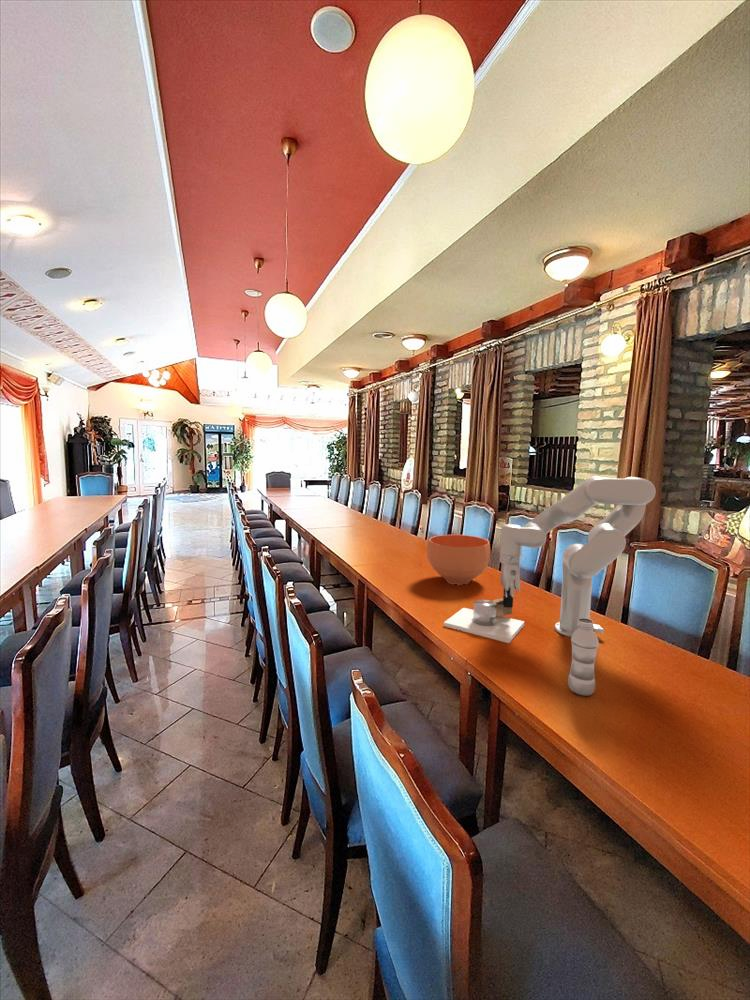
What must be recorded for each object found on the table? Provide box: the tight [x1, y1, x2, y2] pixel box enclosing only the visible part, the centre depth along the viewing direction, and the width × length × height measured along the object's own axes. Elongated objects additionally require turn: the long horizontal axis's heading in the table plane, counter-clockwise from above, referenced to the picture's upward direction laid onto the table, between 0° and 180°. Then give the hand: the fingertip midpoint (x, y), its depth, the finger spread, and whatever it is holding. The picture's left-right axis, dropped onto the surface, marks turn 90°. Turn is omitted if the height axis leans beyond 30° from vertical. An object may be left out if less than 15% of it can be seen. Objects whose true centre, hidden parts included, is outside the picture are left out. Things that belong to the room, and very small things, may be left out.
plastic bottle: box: [567, 618, 599, 696], centre depth 114 cm, size 6×7×20 cm
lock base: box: [443, 607, 525, 644], centre depth 158 cm, size 24×18×2 cm
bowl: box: [426, 534, 492, 586], centre depth 210 cm, size 30×30×20 cm
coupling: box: [472, 597, 513, 626], centre depth 160 cm, size 17×10×7 cm, turn 120°
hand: (507, 606), depth 159 cm, fingers closed
